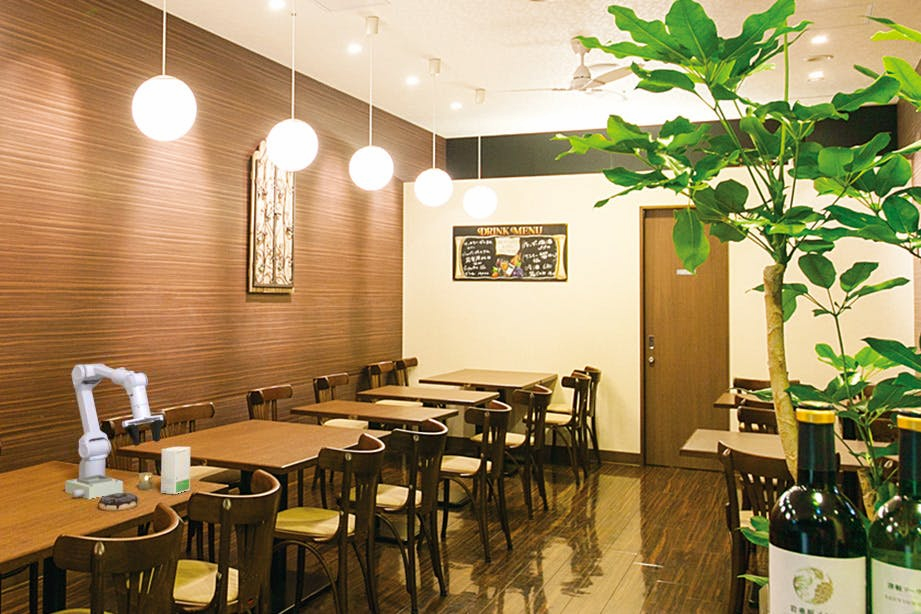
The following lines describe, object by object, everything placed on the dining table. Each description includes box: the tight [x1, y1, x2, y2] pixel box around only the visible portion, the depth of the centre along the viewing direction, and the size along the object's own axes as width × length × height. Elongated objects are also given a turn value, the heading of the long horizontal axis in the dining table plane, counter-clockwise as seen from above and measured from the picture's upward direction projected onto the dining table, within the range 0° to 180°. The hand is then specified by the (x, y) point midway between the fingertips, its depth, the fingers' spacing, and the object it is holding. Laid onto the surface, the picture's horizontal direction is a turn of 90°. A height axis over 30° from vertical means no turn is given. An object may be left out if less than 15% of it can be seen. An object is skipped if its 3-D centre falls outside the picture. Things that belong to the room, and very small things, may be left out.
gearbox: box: [64, 475, 124, 500], centre depth 256 cm, size 16×15×5 cm
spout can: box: [138, 471, 153, 491], centre depth 263 cm, size 6×4×6 cm
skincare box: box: [160, 446, 192, 496], centre depth 260 cm, size 8×7×16 cm
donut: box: [97, 492, 139, 512], centre depth 239 cm, size 11×12×4 cm
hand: (147, 443), depth 260 cm, fingers open, 7 cm apart
